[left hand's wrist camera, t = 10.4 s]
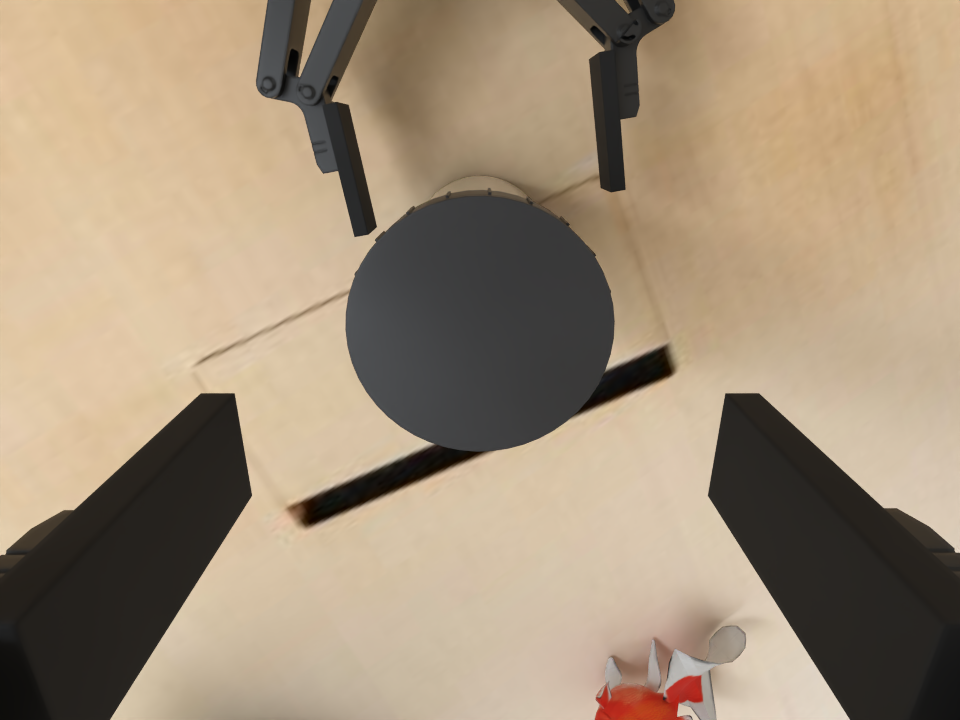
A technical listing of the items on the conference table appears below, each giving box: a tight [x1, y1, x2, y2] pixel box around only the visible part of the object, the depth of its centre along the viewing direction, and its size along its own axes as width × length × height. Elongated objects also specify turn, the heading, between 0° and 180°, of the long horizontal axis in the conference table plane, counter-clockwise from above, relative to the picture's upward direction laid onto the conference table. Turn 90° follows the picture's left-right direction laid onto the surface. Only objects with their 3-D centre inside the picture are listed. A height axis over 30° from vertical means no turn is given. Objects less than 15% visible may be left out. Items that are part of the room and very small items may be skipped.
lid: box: [346, 188, 615, 451], centre depth 22 cm, size 10×10×2 cm
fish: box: [595, 626, 746, 720], centre depth 48 cm, size 11×16×10 cm
